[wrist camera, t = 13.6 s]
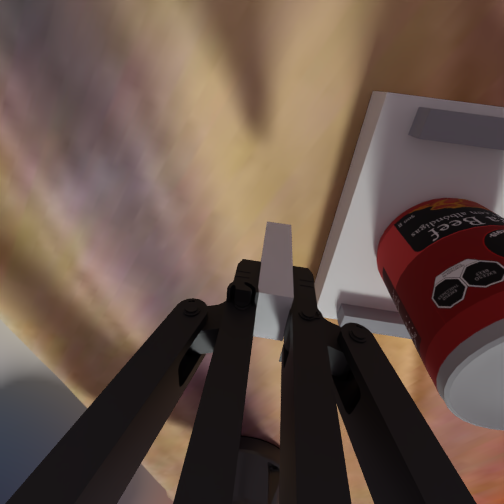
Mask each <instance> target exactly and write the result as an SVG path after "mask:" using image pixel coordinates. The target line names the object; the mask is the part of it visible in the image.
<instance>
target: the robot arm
mask: <svg viewBox="0 0 504 504" xmlns="http://www.w3.org/2000/svg"><path fill="white" fill-rule="evenodd" d="M253 336H255V337H261V338H268V339H274V340H280V341H283V337H284V345H283V348H282V352H281V356H280V360H279V361H280V362H282V369H281V422H280V449H278V448H277V447H275V446H273V445H271V444H269V443H267V442H264V441H261V440H258V439H253V438H248V437H240V436H241V428H242V420H243V412H244V404H245V396H246V388H247V380H248V372H249V364H250V356H251V348H252V340H253ZM212 352H213V355H212V358H211V362H210V366H209V370H208V374H207V377H206V381H205V385H204V389H203V393H202V396H201V400H200V404H199V408H198V411H197V415H196V419H195V423H194V427H193V430H192V434H191V438H190V442H189V446H188V449H187V453H186V457H185V461H184V464H183V468H182V472H181V476H180V480H179V483H178V487H177V491H176V495H175V499H174V502H173V504H351V498H350V491H349V485H348V478H347V472H346V465H345V458H344V452H343V445H342V439H341V432H340V425H339V419H338V412H337V406H338V409H339V412H340V414H341V417H342V420H343V422H344V425H345V427H346V430H347V433H348V435H349V438H350V441H351V443H352V446H353V449H354V451H355V454H356V457H357V459H358V462H359V464H360V467H361V470H362V472H363V475H364V478H365V480H366V483H367V486H368V488H369V491H370V494H371V496H372V499H373V501H374V504H476V502H475V500H474V499H473V497H472V496H471V494H470V492H469V491H468V489H467V487H466V486H465V484H464V482H463V481H462V479H461V478H460V476H459V474H458V473H457V471H456V469H455V468H454V466H453V465H452V463H451V461H450V460H449V458H448V456H447V455H446V453H445V452H444V450H443V448H442V447H441V445H440V443H439V442H438V440H437V438H436V437H435V435H434V434H433V432H432V430H431V429H430V427H429V425H428V424H427V422H426V421H425V419H424V417H423V416H422V414H421V412H420V411H419V409H418V408H417V406H416V404H415V403H414V401H413V399H412V398H411V396H410V394H409V393H408V391H407V390H406V388H405V386H404V385H403V383H402V381H401V380H400V378H399V377H398V375H397V373H396V372H395V370H394V368H393V367H392V365H391V364H390V362H389V360H388V359H387V357H386V355H385V354H384V352H383V351H382V349H381V347H380V346H379V344H378V342H377V341H376V339H375V337H374V336H373V334H372V333H371V332H370V331H369V330H368V329H367V328H366V327H364V326H363V325H360V324H358V323H351V322H350V323H346V324H344V325H343V326H342V327H340V326H338V325H335V324H333V323H331V322H329V321H327V320H326V319H324V318H323V316H322V313H321V312H320V311H319V310H318V307H317V300H316V293H315V286H314V278H313V274H312V273H311V271H310V270H309V269H308V268H303V267H296V266H293V263H292V234H291V225H287V224H281V223H274V222H267V225H266V232H265V238H264V245H263V251H262V258H261V262H259V261H252V260H246V259H243V260H242V261H241V262H240V263H239V264H238V266H237V270H236V274H235V278H234V281H233V282H232V283H230V284H229V286H228V288H227V300H226V301H225V302H223V303H221V304H219V305H213V306H207V305H206V304H205V302H203V301H201V300H200V299H194V298H193V299H186V300H184V301H181V302H180V303H179V304H178V305H177V306H176V307H175V308H174V309H173V310H172V312H171V313H170V314H169V315H168V316H167V317H166V319H165V320H164V321H163V322H162V323H161V324H160V325H159V327H158V328H157V329H156V330H155V331H154V332H153V334H152V335H151V336H150V337H149V338H148V339H147V341H146V342H145V343H144V344H143V345H142V346H141V347H140V349H139V350H138V351H137V352H136V353H135V354H134V356H133V357H132V358H131V359H130V360H129V361H128V362H127V364H126V365H125V366H124V367H123V368H122V369H121V371H120V372H119V373H118V374H117V375H116V376H115V378H114V379H113V380H112V381H111V382H110V383H109V384H108V386H107V387H106V388H105V389H104V390H103V391H102V393H101V394H100V395H99V396H98V397H97V398H96V400H95V401H94V402H93V403H92V404H91V405H90V406H89V408H88V409H87V410H86V411H85V412H84V413H83V415H82V416H81V417H80V418H79V419H78V421H76V423H75V424H74V425H73V426H72V428H70V430H69V431H68V432H67V433H66V434H65V435H64V437H63V438H62V439H61V440H60V441H59V442H58V444H57V445H56V446H55V447H54V448H53V449H52V450H51V452H50V453H49V454H48V455H47V456H46V457H45V459H44V460H43V461H42V462H41V463H40V464H39V465H38V467H37V468H36V469H35V470H34V471H33V473H32V474H31V475H30V476H29V477H28V478H27V479H26V481H25V482H24V483H23V484H22V485H21V486H20V488H19V489H18V490H17V491H16V492H15V493H14V494H13V495H12V497H11V498H10V499H9V500H8V501H7V502H6V504H117V503H118V501H119V499H120V497H121V496H122V494H123V492H124V491H125V489H126V487H127V485H128V484H129V482H130V481H131V479H132V477H133V476H134V474H135V472H136V471H137V469H138V467H139V466H140V464H141V462H142V461H143V459H144V457H145V456H146V454H147V452H148V450H149V449H150V447H151V445H152V444H153V442H154V440H155V439H156V437H157V435H158V434H159V432H160V430H161V429H162V427H163V425H164V424H165V422H166V420H167V419H168V417H169V415H170V414H171V412H172V410H173V409H174V407H175V405H176V404H177V402H178V400H179V398H180V397H181V395H182V393H183V392H184V390H185V388H186V387H187V385H188V383H189V382H190V380H191V378H192V377H193V375H194V373H195V372H196V370H197V368H198V367H199V365H200V363H201V362H202V360H203V358H204V357H205V355H206V353H212ZM336 404H337V406H336Z"/></svg>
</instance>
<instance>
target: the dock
mask: <svg viewBox="0 0 504 504" xmlns="http://www.w3.org/2000/svg"><path fill="white" fill-rule="evenodd" d="M439 198H458V199H466V200H470V201H474V202H477V203H478V204H480V205H482V206H484V207H486V208H488V209H489V210H491V211H492V212H494V213H496V214H497V215H499V216H501V217H502V218H504V107H498V106H491V105H483V104H475V103H467V102H460V101H452V100H444V99H437V98H429V97H421V96H414V95H406V94H398V93H390V92H380V91H373V92H372V95H371V99H370V102H369V105H368V109H367V112H366V115H365V118H364V122H363V125H362V128H361V132H360V135H359V138H358V142H357V145H356V148H355V151H354V155H353V158H352V161H351V165H350V168H349V171H348V174H347V178H346V181H345V184H344V188H343V191H342V194H341V197H340V201H339V204H338V207H337V211H336V214H335V217H334V221H333V224H332V227H331V230H330V234H329V237H328V240H327V244H326V247H325V250H324V253H323V257H322V260H321V263H320V267H319V270H318V273H317V276H316V280H315V283H314V286H315V293H316V300H317V307H318V310H319V311H320V312H321V313H322V316H323V317H325V318H331V319H338V324H339V326H340V327H342V326H343V325H344V324H346V323H350V322H351V323H358V324H360V325H363V326H364V327H366V328H367V329H368V330H369V331H370V332H371V333H376V334H383V335H389V336H395V337H402V338H408V339H411V337H410V335H409V333H408V331H407V329H406V326H405V324H404V322H403V320H402V318H401V316H400V314H399V312H398V310H397V308H396V306H395V304H394V302H393V300H392V298H391V296H390V294H389V292H388V290H387V288H386V286H385V284H384V282H383V280H382V278H381V275H380V273H379V271H378V268H377V247H378V244H379V241H380V238H381V236H382V235H383V233H384V231H385V230H386V228H387V227H388V226H389V225H390V224H391V222H392V221H393V220H395V219H396V218H397V217H398V216H399V215H400V214H402V213H403V212H405V211H406V210H408V209H409V208H411V207H413V206H415V205H418V204H420V203H422V202H426V201H429V200H432V199H439Z"/></svg>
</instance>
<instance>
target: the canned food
mask: <svg viewBox="0 0 504 504" xmlns="http://www.w3.org/2000/svg"><path fill="white" fill-rule="evenodd" d="M377 268H378V271H379V273H380V275H381V278H382V280H383V282H384V284H385V286H386V288H387V290H388V292H389V294H390V296H391V298H392V300H393V302H394V304H395V306H396V308H397V310H398V312H399V314H400V316H401V318H402V320H403V322H404V324H405V326H406V329H407V331H408V333H409V335H410V337H411V339H412V341H413V343H414V345H415V347H416V349H417V351H418V353H419V355H420V357H421V359H422V361H423V363H424V365H425V367H426V369H427V371H428V373H429V375H430V377H431V379H432V380H433V382H434V384H435V386H436V388H437V390H438V392H439V394H440V396H441V398H442V399H443V400H444V401H445V403H446V405H447V407H448V408H449V410H450V411H451V412H452V413H453V414H454V415H455V416H457V417H459V418H460V419H462V420H463V421H466V422H468V423H471V424H473V425H476V426H480V427H485V428H489V429H496V430H504V218H502V217H501V216H499V215H497V214H496V213H494V212H492V211H491V210H489V209H488V208H486V207H484V206H482V205H480V204H478V203H477V202H474V201H470V200H466V199H458V198H439V199H432V200H429V201H426V202H422V203H420V204H418V205H415V206H413V207H411V208H409V209H408V210H406V211H405V212H403V213H402V214H400V215H399V216H398V217H397V218H396V219H395V220H393V221H392V222H391V224H390V225H389V226H388V227H387V228H386V230H385V231H384V233H383V235H382V236H381V238H380V241H379V244H378V247H377Z"/></svg>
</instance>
